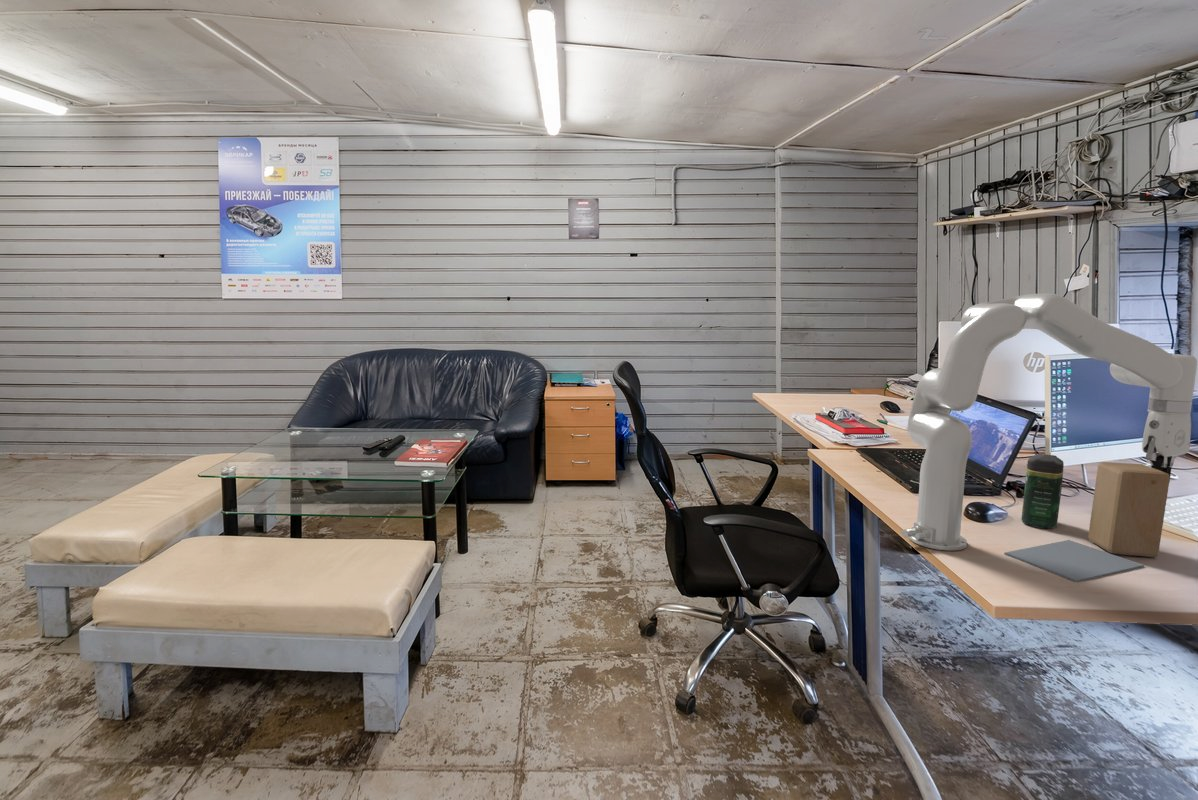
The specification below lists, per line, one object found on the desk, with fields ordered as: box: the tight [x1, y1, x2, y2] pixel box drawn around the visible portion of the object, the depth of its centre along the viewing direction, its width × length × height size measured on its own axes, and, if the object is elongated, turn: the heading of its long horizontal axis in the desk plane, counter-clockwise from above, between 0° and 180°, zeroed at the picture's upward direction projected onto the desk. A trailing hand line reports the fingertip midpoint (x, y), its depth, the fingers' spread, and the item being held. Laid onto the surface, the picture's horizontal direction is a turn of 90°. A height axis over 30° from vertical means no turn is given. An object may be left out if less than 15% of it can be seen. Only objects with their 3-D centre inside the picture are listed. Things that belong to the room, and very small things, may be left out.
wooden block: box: [1087, 461, 1171, 558], centre depth 146 cm, size 10×10×20 cm
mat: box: [1004, 539, 1145, 583], centre depth 142 cm, size 22×16×1 cm
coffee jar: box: [1021, 453, 1064, 529], centre depth 164 cm, size 10×8×19 cm
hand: (1159, 482), depth 149 cm, fingers closed
